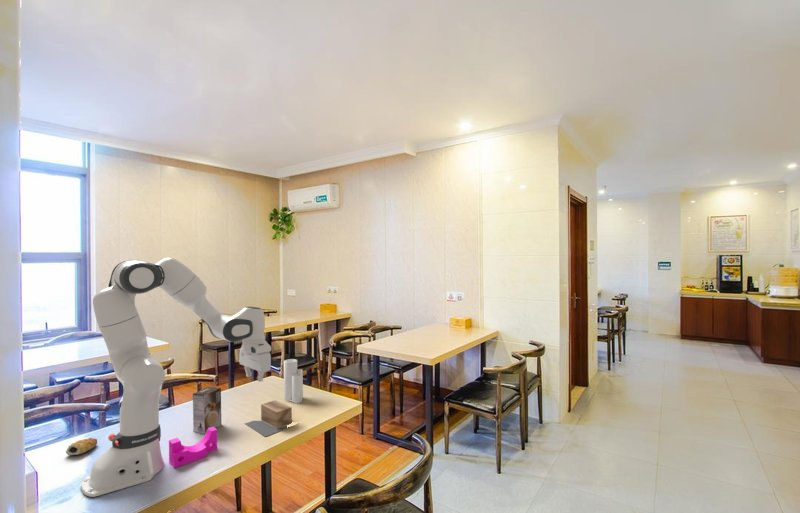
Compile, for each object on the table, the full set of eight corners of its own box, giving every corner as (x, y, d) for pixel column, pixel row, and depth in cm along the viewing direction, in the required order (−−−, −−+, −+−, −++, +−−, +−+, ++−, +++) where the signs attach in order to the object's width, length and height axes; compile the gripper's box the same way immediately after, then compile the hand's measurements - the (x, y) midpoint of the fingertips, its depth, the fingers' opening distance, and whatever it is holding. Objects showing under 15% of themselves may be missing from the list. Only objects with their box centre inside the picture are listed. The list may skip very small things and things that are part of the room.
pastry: (87, 443, 149) (86, 433, 149) (103, 443, 148) (102, 433, 148) (63, 456, 140) (63, 445, 140) (81, 456, 139) (80, 445, 139)
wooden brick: (276, 429, 160) (276, 412, 160) (261, 420, 168) (261, 404, 168) (291, 423, 165) (291, 407, 165) (275, 415, 174) (275, 400, 174)
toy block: (174, 467, 132) (174, 446, 132) (169, 461, 136) (168, 440, 136) (219, 451, 142) (219, 431, 143) (213, 446, 147) (213, 426, 147)
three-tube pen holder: (281, 401, 192) (280, 361, 192) (291, 397, 198) (291, 358, 198) (297, 406, 186) (297, 364, 186) (308, 401, 192) (307, 361, 192)
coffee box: (210, 423, 167) (209, 386, 167) (221, 425, 165) (221, 387, 165) (192, 432, 158) (192, 393, 158) (204, 434, 156) (204, 394, 156)
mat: (265, 437, 153) (265, 436, 153) (244, 424, 165) (244, 423, 165) (326, 414, 176) (326, 413, 176) (303, 404, 188) (303, 403, 188)
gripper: (234, 343, 164) (235, 375, 164) (258, 350, 150) (259, 386, 150) (249, 340, 169) (249, 372, 169) (273, 347, 155) (274, 381, 155)
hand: (254, 378), depth 159 cm, fingers open, 8 cm apart
